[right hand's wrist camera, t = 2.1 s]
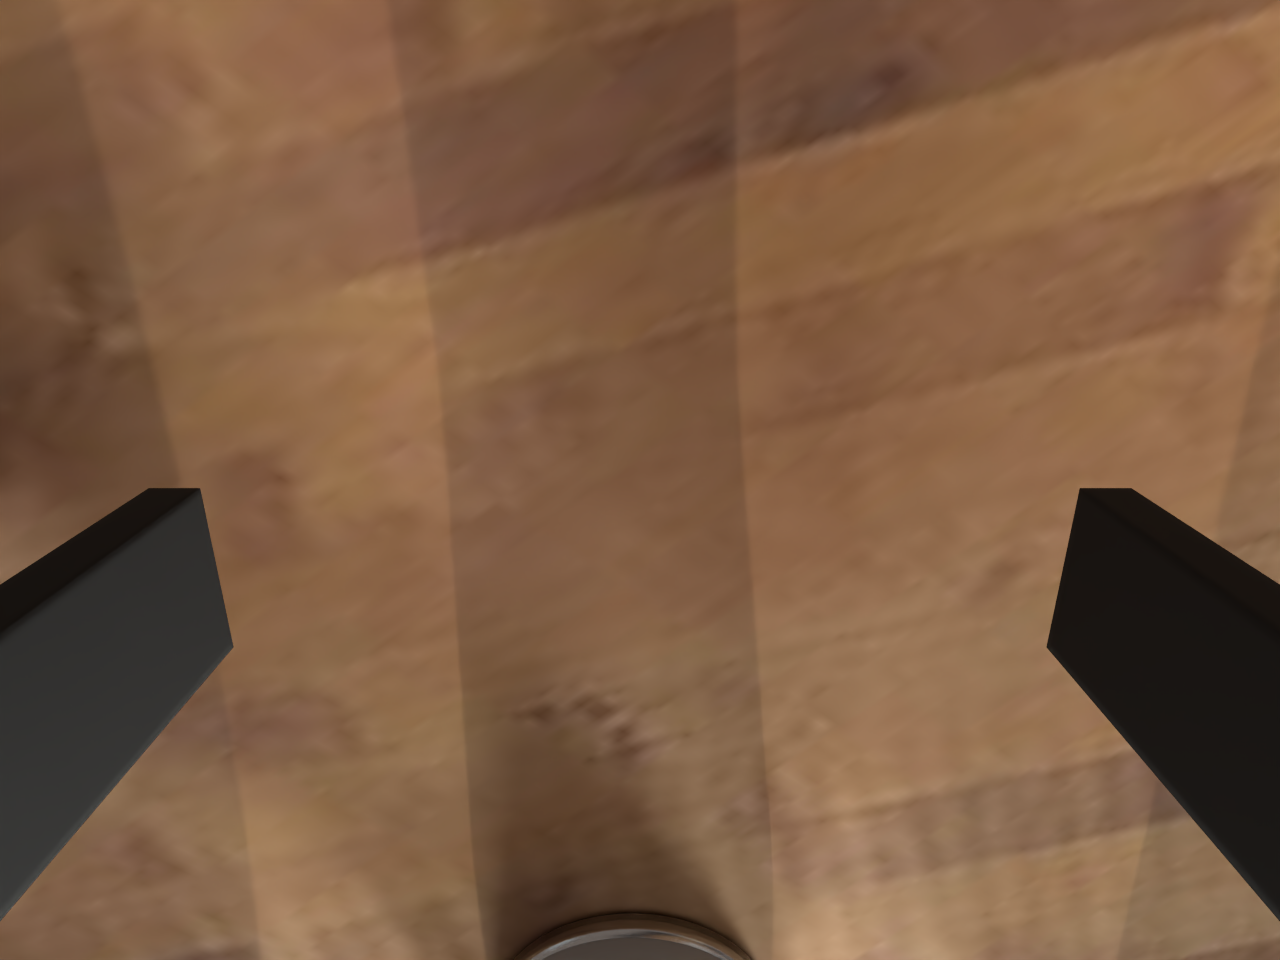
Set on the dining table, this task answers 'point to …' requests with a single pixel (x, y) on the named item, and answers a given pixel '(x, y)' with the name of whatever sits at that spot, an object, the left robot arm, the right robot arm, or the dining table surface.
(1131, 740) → the right robot arm
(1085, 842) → the dining table surface
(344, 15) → the dining table surface
